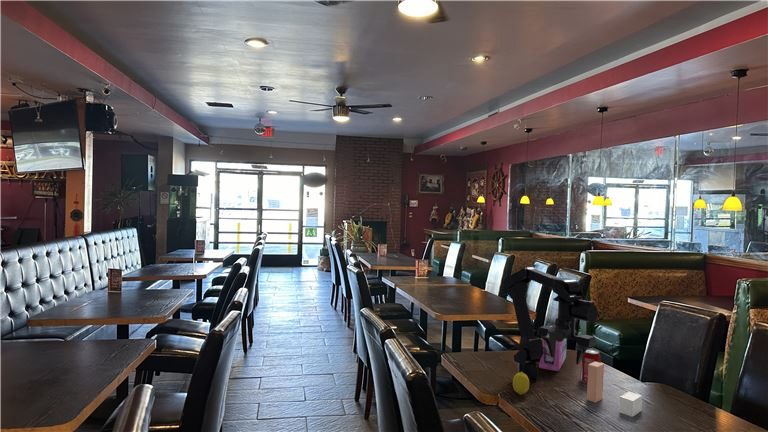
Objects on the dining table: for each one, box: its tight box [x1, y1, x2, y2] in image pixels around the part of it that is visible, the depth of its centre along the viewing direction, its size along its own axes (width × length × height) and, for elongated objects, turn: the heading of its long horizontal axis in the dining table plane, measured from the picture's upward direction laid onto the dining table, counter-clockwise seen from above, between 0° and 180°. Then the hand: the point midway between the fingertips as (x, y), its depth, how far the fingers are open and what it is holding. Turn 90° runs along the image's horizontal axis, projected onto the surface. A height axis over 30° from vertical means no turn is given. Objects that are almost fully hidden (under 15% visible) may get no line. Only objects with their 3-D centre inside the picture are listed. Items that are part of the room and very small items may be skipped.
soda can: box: [579, 348, 602, 385], centre depth 176 cm, size 7×7×12 cm
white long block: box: [617, 391, 643, 417], centre depth 156 cm, size 18×7×6 cm, turn 41°
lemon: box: [512, 372, 530, 396], centre depth 163 cm, size 6×6×8 cm
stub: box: [586, 362, 605, 403], centre depth 159 cm, size 3×5×12 cm, turn 131°
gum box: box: [538, 323, 568, 372], centre depth 198 cm, size 24×8×14 cm, turn 152°
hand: (564, 360), depth 164 cm, fingers open, 9 cm apart
